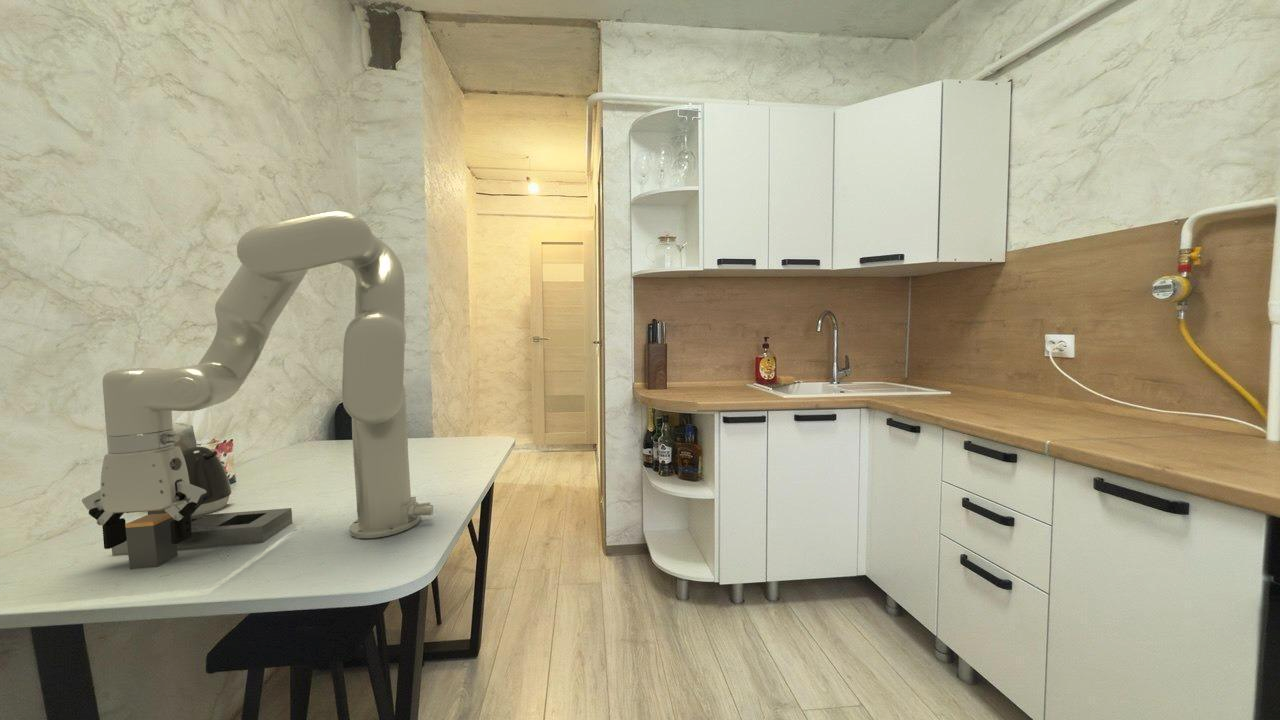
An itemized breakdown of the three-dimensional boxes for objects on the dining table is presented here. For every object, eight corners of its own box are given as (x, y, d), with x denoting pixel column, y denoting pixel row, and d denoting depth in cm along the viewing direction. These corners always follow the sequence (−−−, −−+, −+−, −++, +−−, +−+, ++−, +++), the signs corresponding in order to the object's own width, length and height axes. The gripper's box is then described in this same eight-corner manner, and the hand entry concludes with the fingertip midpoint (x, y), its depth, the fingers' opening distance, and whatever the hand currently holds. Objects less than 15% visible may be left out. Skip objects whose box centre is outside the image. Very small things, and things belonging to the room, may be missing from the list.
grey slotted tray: (292, 527, 94) (291, 507, 94) (263, 547, 85) (262, 526, 85) (157, 538, 90) (156, 518, 90) (112, 560, 82) (110, 538, 81)
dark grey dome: (194, 525, 97) (188, 453, 96) (156, 522, 99) (149, 452, 98) (245, 506, 107) (239, 441, 106) (209, 505, 109) (203, 440, 108)
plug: (178, 561, 81) (173, 512, 80) (158, 572, 77) (153, 522, 76) (152, 563, 80) (147, 514, 80) (130, 575, 76) (125, 524, 76)
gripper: (217, 435, 82) (223, 529, 83) (104, 440, 80) (111, 537, 81) (181, 445, 75) (188, 548, 76) (56, 450, 72) (64, 558, 73)
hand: (149, 543), depth 78 cm, fingers open, 9 cm apart
